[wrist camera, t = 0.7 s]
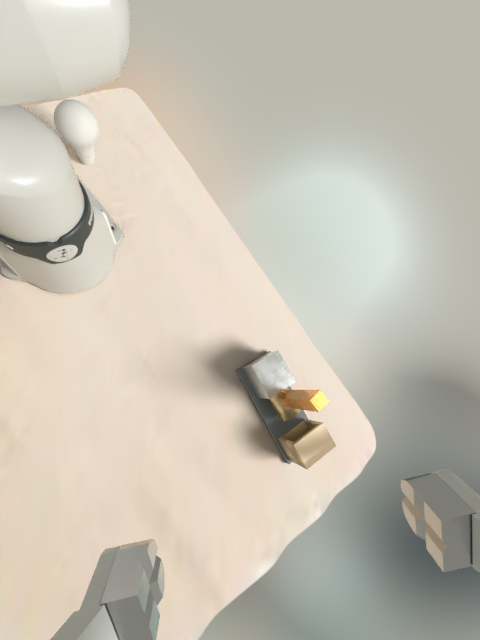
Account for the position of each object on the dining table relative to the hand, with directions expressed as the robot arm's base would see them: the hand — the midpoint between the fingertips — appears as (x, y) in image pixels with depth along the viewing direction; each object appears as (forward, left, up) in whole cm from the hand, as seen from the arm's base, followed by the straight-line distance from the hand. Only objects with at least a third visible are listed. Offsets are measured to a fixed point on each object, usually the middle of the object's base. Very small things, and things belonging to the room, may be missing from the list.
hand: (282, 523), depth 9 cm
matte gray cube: (+1, +15, -39) cm, 42 cm away
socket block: (+13, +15, -39) cm, 44 cm away
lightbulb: (-48, +6, -41) cm, 63 cm away
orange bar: (+4, +15, -38) cm, 41 cm away
